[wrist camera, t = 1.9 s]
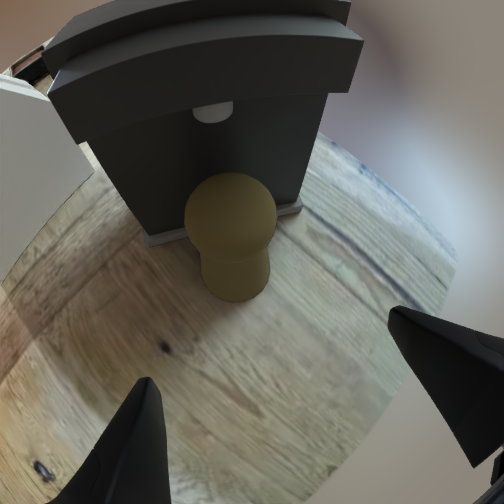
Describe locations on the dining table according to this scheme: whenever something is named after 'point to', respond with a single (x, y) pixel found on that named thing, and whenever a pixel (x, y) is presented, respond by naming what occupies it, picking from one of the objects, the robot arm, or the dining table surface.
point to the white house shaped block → (32, 167)
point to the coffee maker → (200, 95)
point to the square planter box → (29, 66)
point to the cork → (232, 234)
